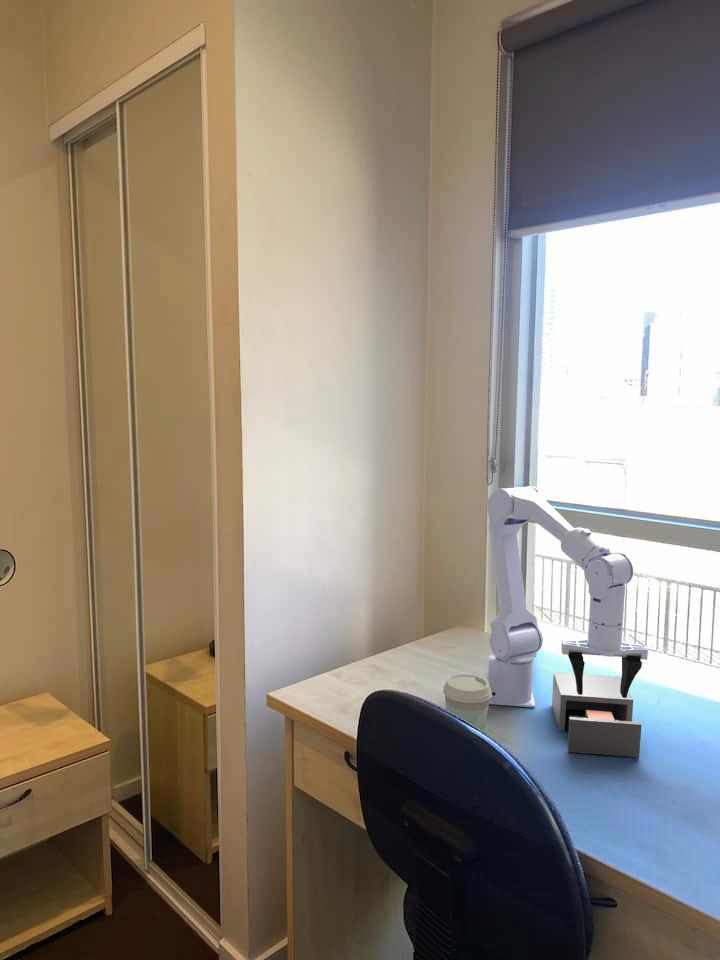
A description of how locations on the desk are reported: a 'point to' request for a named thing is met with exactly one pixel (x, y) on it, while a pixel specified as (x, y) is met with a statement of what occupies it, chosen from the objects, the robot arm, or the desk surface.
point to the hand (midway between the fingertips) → (601, 694)
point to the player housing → (589, 696)
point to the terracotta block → (599, 715)
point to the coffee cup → (468, 698)
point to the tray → (604, 736)
